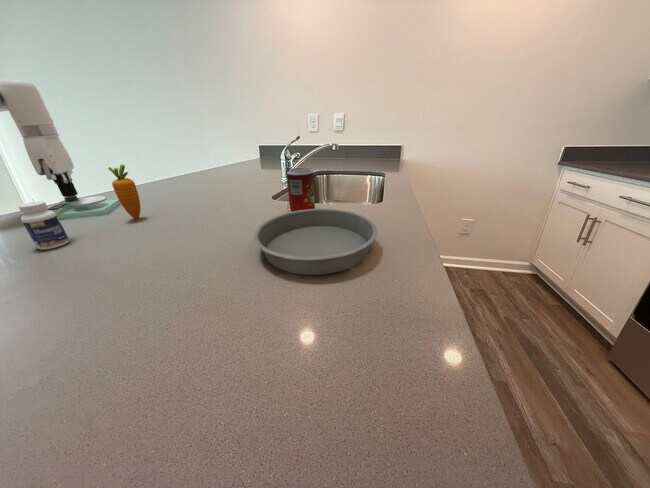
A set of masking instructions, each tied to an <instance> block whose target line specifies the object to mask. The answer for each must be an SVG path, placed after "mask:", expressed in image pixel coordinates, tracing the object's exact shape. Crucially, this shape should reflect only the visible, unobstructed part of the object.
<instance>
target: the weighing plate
mask: <svg viewBox="0 0 650 488" xmlns="http://www.w3.org/2000/svg"><path fill="white" fill-rule="evenodd" d="M82 198H83V199H79V200H75V201H73V202H71V205H72V206H86V205H92V204H97V203H100V202H103V201H106V200H107V198H106V196H103V195H101V196H100V195H98V196H97V195H96V196H90V197H89V196H88V197H82Z"/></svg>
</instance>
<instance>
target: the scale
mask: <svg viewBox="0 0 650 488" xmlns="http://www.w3.org/2000/svg"><path fill="white" fill-rule="evenodd" d="M77 198H78V200H79V199H83V198H84V197H77ZM64 203H67V205H66V206H64V207H62V208H60V209H58V210H54V212H55V213H56V215H57V217H58V219H59V220H63V219H73V218H82V217H83V218H84V217H91V216H101V215H107V214H108V213H109V212H111V211H112V210H113V209H115V208H116V207H118V206H119V205H120V204H121V203H120V201H119V199H118V198H117V199H109V200H108V199H106V200H105V201H103V202H100V203H97V204H92V205H86V206H72V205H71V202H66V201H65V199H64V200H61V201H59V203H58V204H64Z"/></svg>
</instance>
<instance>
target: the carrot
mask: <svg viewBox="0 0 650 488" xmlns="http://www.w3.org/2000/svg"><path fill="white" fill-rule="evenodd" d="M107 169H108V170H109V171H110V172H111V173H112V174H113V175H114V176H115V178H117V179H115V180H113V181H112V182H111V185H112V188H113V190H114V193H115V195H116V197H117V199H119V201H120V204H121V206H122V208H123V209H124V210H125V211H126V213H128V215H129V216H130V217H131V218H132V219H134V220H136V221H137V220H139V219H140V215H141V200H140V195H139V192H138V189H137V186H136V183H135V181H134V180H133V179H131V178H130V177H127V175H128V174H129V172H128V171H126V172H125V169H126V165H125V164H120V165H119V168H118V167H114V168H112V167H110V166H108V167H107Z"/></svg>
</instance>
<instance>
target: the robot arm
mask: <svg viewBox="0 0 650 488" xmlns="http://www.w3.org/2000/svg"><path fill="white" fill-rule="evenodd" d="M1 112H8V113H9V114H10V116H11V118H12V120H13V123H14V124H15V125H16V127H17V129H18V131H19V133H20V136H21V137H22V141H23V144H24V148H25V151H26V153H27V156H28V159H29V160H30V162H31V165H32V167H33V168H34V170H35V172H36V174H37V175H39V176H45V177H46V179H47V180H48V181H53V182H54V184H55V185H56V186H57V188H58V191H59V192H60V194H61V196H62V197H63V198H64V197H68V196H77V195H78V191H77V189H76V187H75V185H74V183H73V178H72V174H73V172H74V171H73V170H74V168H75V166H74V163H73V161H72V158H71V156H70V154H69V152H68V150H67V148H66V147H65V145H64V143H63V141H62V140H61V138H60V137H61V136H60V133H59V131H58V129H57V126H56V124H55V122H54V120H53V118H52V116H51V114H50V112H49V109H48V107H47V104H46V103H45V100H44V98H43V96H42V94H41V93H40V90H39V88H38V86H37V85H36V84H35V83H34V82H31V81H29V80H23V79H0V113H1Z"/></svg>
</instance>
